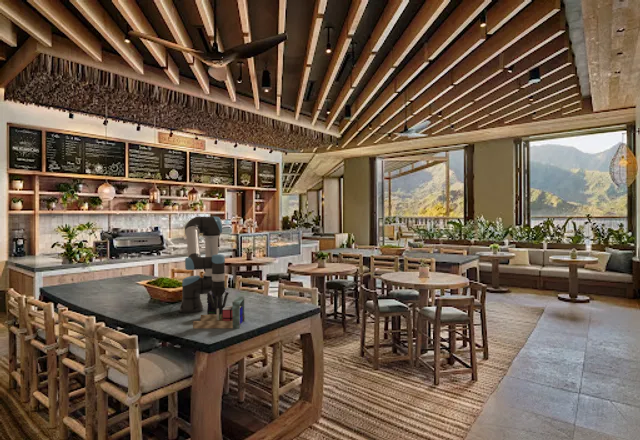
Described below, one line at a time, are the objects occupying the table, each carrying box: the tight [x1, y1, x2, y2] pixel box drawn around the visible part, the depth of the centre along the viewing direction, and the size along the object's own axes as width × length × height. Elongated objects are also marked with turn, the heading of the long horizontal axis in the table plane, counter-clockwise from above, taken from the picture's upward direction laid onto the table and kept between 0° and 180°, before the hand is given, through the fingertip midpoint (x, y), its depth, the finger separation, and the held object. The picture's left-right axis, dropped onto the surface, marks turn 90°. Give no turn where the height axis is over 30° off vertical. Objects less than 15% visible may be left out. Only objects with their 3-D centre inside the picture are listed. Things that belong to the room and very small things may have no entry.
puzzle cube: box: [222, 305, 244, 325], centre depth 230 cm, size 10×10×10 cm
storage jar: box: [206, 293, 224, 315], centre depth 246 cm, size 10×10×15 cm
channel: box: [192, 296, 245, 329], centre depth 229 cm, size 27×15×15 cm, turn 90°
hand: (218, 319), depth 229 cm, fingers closed
